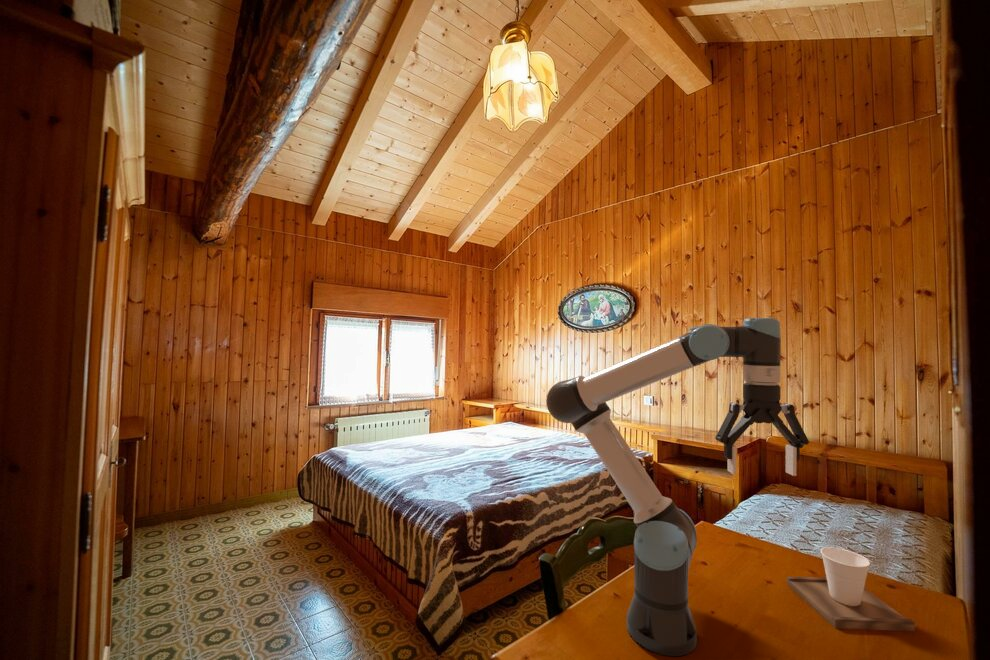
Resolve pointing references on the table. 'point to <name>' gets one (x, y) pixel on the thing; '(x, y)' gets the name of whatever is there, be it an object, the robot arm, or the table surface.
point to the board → (849, 607)
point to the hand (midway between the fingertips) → (761, 473)
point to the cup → (845, 574)
